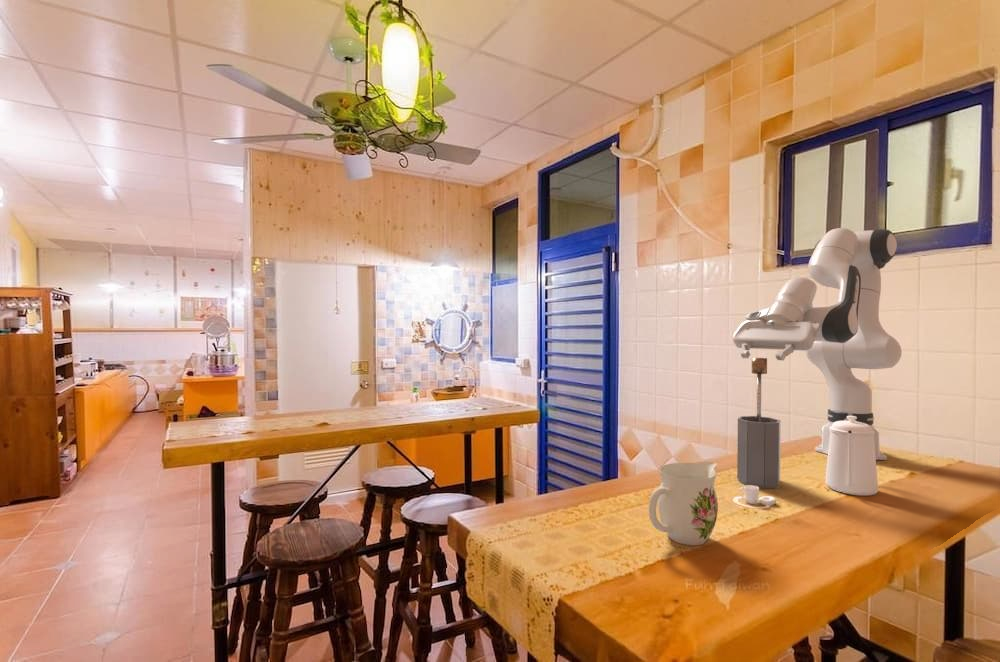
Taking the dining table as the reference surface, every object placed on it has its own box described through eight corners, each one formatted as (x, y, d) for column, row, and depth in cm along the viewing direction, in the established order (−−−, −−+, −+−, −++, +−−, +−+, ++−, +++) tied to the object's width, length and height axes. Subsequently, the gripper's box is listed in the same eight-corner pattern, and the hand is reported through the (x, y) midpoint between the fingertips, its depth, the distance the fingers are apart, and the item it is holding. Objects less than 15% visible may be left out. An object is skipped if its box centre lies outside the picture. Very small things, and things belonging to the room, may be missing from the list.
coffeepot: (821, 499, 118) (821, 421, 117) (828, 474, 137) (829, 407, 137) (878, 509, 111) (879, 426, 111) (877, 481, 131) (878, 411, 131)
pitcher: (628, 538, 96) (629, 468, 96) (691, 520, 105) (691, 456, 105) (673, 561, 86) (673, 483, 86) (738, 540, 95) (738, 469, 95)
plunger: (745, 443, 135) (746, 356, 135) (775, 446, 131) (776, 358, 131) (741, 448, 129) (742, 358, 129) (772, 452, 125) (773, 359, 125)
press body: (743, 472, 139) (743, 413, 139) (782, 478, 134) (782, 417, 134) (735, 484, 129) (735, 420, 129) (777, 491, 123) (777, 424, 123)
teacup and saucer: (778, 504, 115) (778, 487, 115) (769, 514, 109) (769, 496, 109) (738, 495, 121) (739, 479, 121) (728, 504, 115) (728, 487, 115)
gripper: (826, 330, 128) (807, 368, 122) (750, 329, 145) (730, 363, 140) (818, 312, 125) (798, 351, 120) (742, 314, 142) (721, 347, 137)
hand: (761, 357), depth 130 cm, fingers open, 8 cm apart
